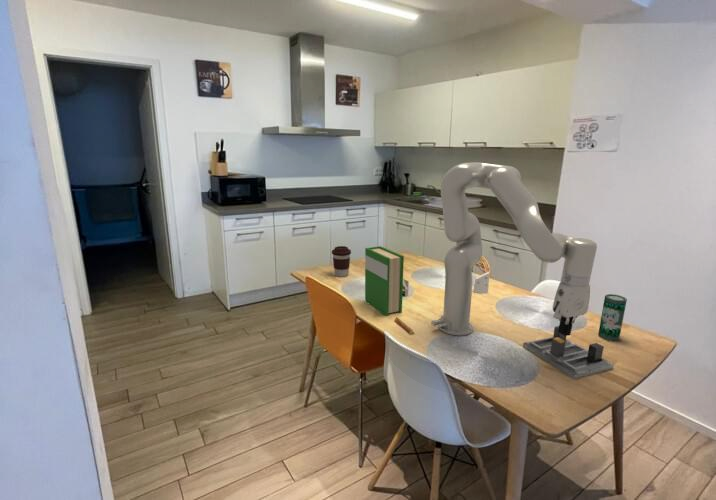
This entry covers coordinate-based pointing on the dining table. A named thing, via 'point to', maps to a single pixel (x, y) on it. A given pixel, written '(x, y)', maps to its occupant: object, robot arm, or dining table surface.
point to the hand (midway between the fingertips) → (564, 333)
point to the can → (612, 317)
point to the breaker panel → (571, 356)
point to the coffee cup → (341, 261)
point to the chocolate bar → (404, 326)
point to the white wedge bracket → (482, 283)
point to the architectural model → (405, 287)
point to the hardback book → (384, 279)
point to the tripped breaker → (557, 346)
